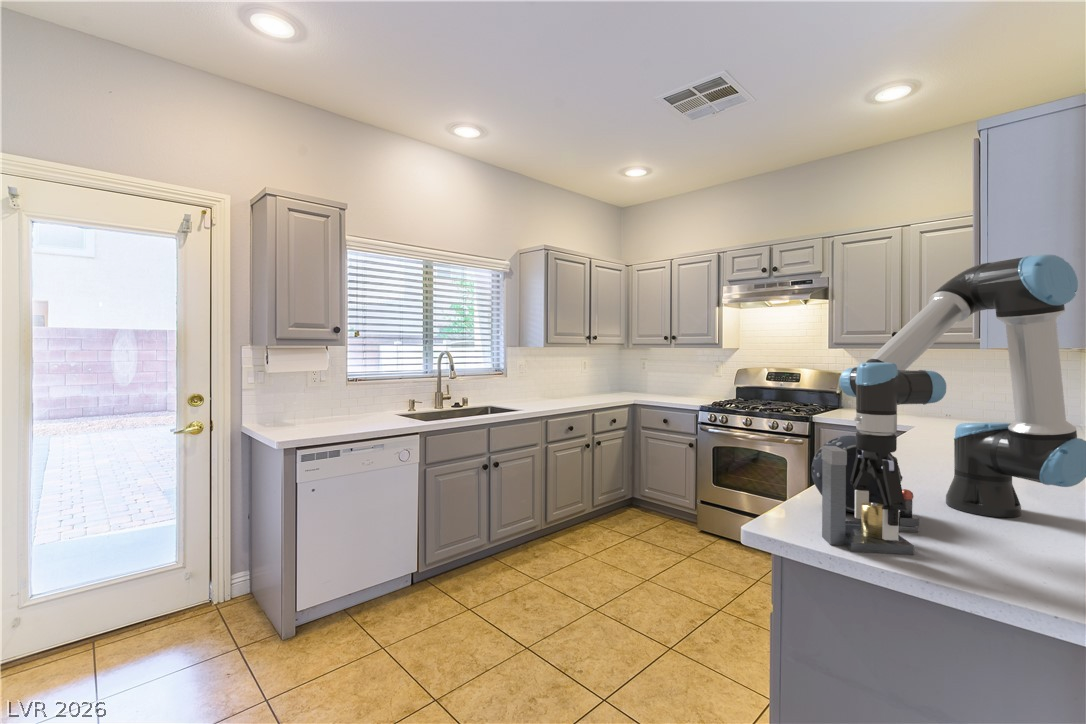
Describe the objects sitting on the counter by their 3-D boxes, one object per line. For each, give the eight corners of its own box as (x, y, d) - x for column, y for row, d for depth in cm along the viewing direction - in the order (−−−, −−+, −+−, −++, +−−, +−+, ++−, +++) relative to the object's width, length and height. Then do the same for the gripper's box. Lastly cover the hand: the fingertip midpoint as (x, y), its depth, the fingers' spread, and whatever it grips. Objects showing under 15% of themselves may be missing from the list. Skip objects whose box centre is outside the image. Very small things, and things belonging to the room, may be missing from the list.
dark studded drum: (907, 520, 126) (907, 441, 125) (820, 515, 130) (820, 438, 129) (886, 506, 136) (887, 433, 136) (807, 503, 140) (807, 432, 140)
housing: (880, 531, 113) (880, 500, 113) (891, 539, 108) (891, 507, 108) (857, 530, 114) (857, 499, 114) (867, 538, 109) (867, 506, 109)
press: (912, 528, 120) (913, 441, 119) (956, 557, 104) (958, 456, 103) (808, 523, 124) (809, 439, 123) (835, 550, 108) (836, 453, 107)
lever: (911, 521, 120) (912, 488, 120) (918, 526, 117) (919, 491, 117) (893, 521, 121) (893, 487, 121) (899, 525, 118) (900, 490, 118)
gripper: (835, 423, 123) (834, 509, 124) (884, 442, 99) (884, 549, 100) (868, 424, 122) (867, 510, 123) (927, 443, 98) (926, 551, 98)
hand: (875, 528), depth 111 cm, fingers open, 13 cm apart
